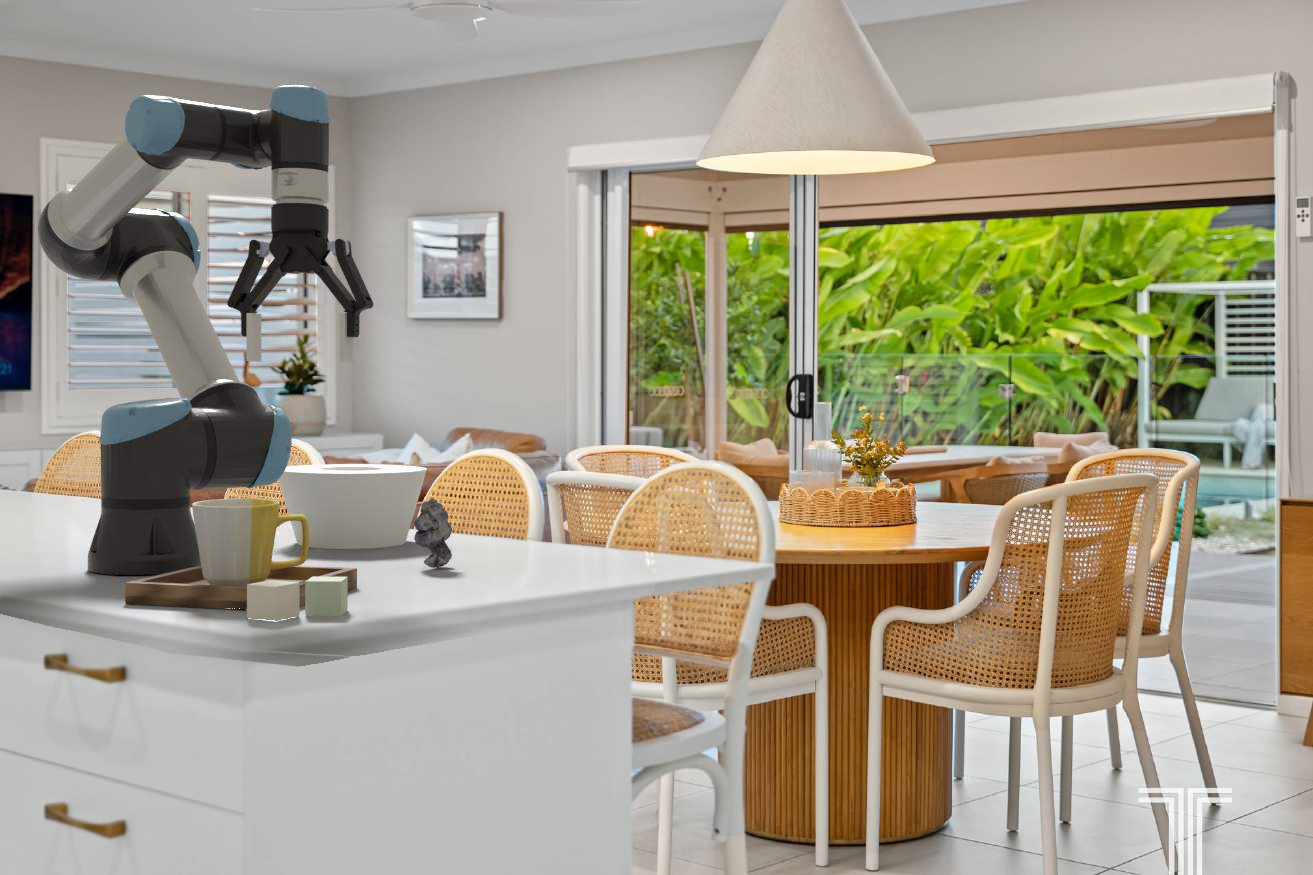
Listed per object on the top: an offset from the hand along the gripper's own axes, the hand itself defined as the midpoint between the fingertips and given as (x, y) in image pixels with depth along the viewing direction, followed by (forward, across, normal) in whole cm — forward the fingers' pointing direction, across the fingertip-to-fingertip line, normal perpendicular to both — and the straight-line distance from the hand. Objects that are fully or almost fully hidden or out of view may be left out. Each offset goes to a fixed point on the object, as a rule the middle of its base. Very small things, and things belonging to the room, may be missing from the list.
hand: (299, 362), depth 195 cm
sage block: (+29, +18, -29) cm, 45 cm away
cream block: (+29, +14, -34) cm, 47 cm away
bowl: (+29, -9, +36) cm, 47 cm away
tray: (+29, +3, -20) cm, 35 cm away
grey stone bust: (+29, +15, +11) cm, 34 cm away
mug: (+28, +3, -20) cm, 34 cm away
